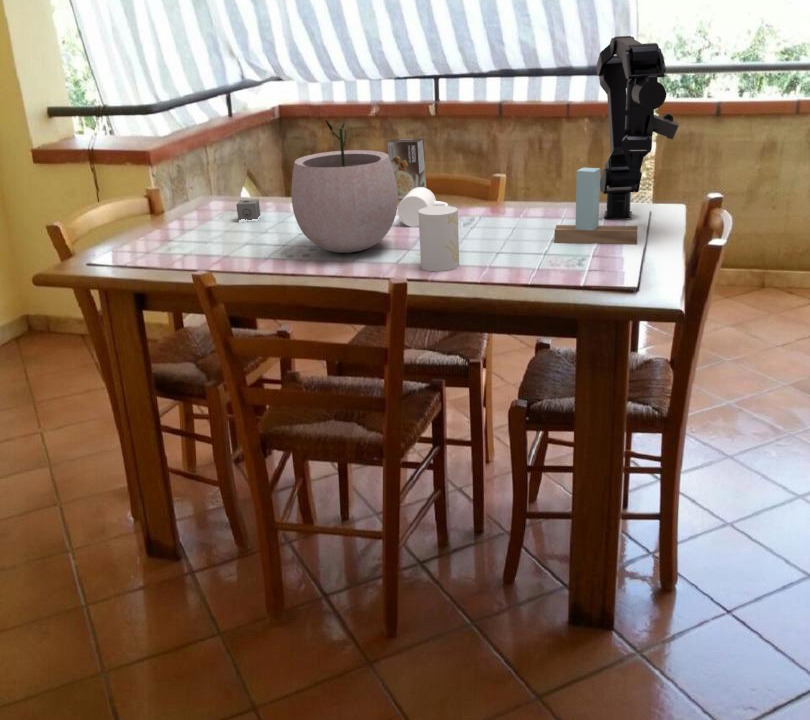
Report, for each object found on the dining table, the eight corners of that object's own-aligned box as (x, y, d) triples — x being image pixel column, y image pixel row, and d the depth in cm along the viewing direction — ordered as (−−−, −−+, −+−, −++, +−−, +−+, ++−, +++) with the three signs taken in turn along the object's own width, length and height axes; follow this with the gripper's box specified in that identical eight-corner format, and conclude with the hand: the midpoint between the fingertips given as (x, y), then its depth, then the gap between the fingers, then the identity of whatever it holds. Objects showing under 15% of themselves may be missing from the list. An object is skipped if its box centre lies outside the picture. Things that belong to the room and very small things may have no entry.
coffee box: (427, 195, 251) (425, 137, 245) (421, 200, 246) (418, 141, 239) (397, 194, 254) (394, 138, 248) (390, 199, 248) (386, 141, 242)
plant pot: (412, 236, 209) (406, 107, 198) (383, 266, 188) (374, 122, 176) (318, 234, 216) (307, 109, 204) (280, 262, 195) (265, 124, 183)
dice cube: (242, 218, 237) (240, 200, 235) (260, 217, 236) (258, 199, 234) (238, 222, 232) (236, 204, 230) (257, 222, 232) (255, 203, 230)
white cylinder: (456, 271, 182) (454, 214, 177) (417, 271, 183) (415, 215, 179) (461, 260, 189) (460, 205, 184) (424, 260, 191) (422, 205, 186)
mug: (398, 227, 219) (396, 195, 216) (406, 217, 228) (405, 187, 225) (446, 227, 216) (444, 195, 213) (452, 217, 225) (451, 186, 222)
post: (581, 224, 200) (582, 167, 194) (598, 226, 198) (600, 168, 193) (575, 229, 196) (576, 170, 191) (592, 230, 194) (594, 171, 189)
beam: (556, 237, 202) (556, 224, 201) (637, 238, 197) (637, 225, 196) (554, 242, 198) (554, 229, 197) (636, 244, 193) (637, 231, 192)
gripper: (678, 109, 181) (673, 184, 187) (677, 98, 198) (672, 168, 204) (623, 110, 184) (620, 184, 190) (626, 99, 201) (623, 168, 207)
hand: (635, 175), depth 198 cm, fingers open, 9 cm apart
